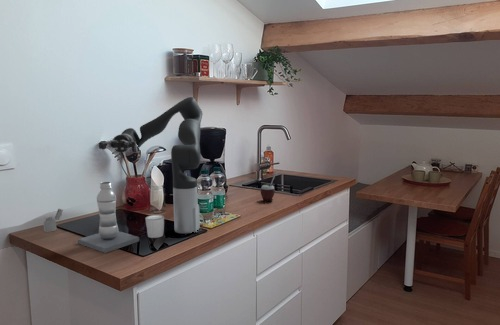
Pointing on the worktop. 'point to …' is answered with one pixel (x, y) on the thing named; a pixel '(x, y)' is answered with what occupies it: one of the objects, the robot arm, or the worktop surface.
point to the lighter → (52, 222)
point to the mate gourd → (268, 191)
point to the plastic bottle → (107, 211)
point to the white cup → (155, 226)
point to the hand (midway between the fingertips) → (113, 146)
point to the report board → (108, 241)
